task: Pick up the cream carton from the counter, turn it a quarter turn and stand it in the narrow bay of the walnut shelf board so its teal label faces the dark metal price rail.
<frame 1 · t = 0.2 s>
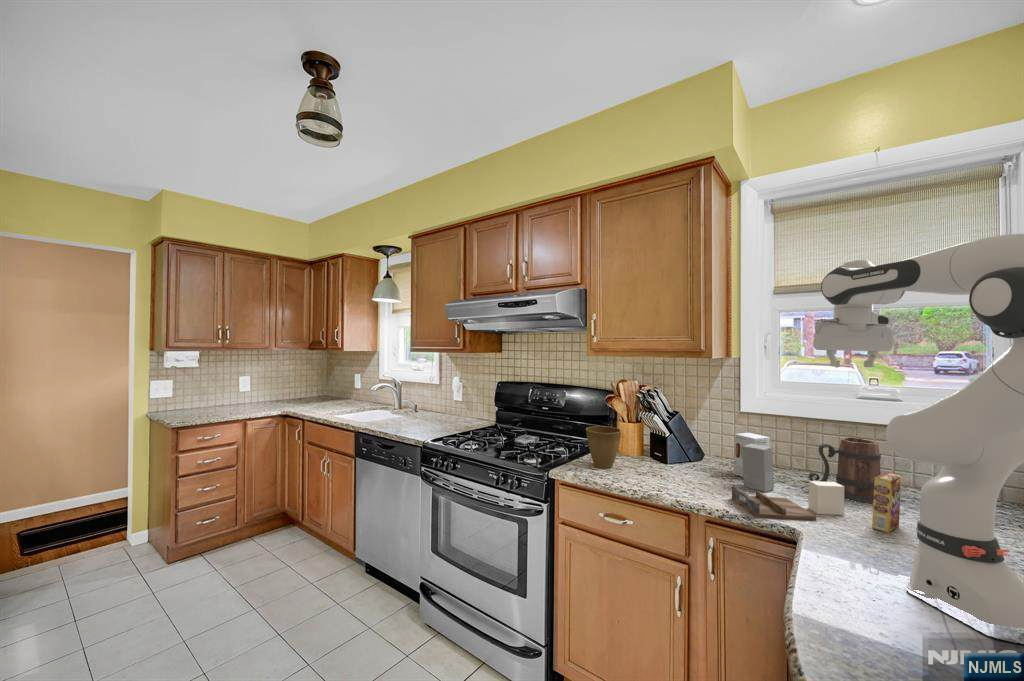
hand: (851, 366, 123), 47 cm above the countertop, tool pointing down, fingers open, 8 cm apart
cream carton: (825, 511, 138), on the countertop
plant pot: (602, 466, 184), on the countertop
supplement box: (751, 476, 174), on the countertop
tankard: (847, 495, 155), on the countertop
skincare box: (757, 488, 159), on the countertop
shelf board: (771, 509, 139), on the countertop
candy box: (886, 528, 126), on the countertop
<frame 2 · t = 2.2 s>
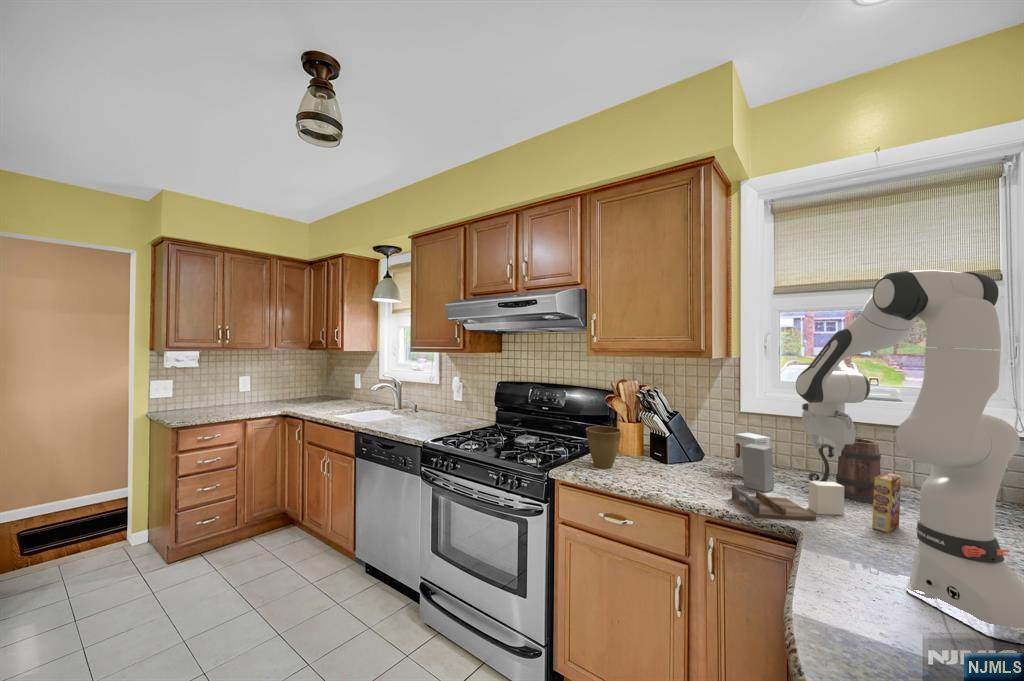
hand: (826, 451, 138), 19 cm above the countertop, tool pointing down, fingers open, 8 cm apart
nothing on the countertop moved.
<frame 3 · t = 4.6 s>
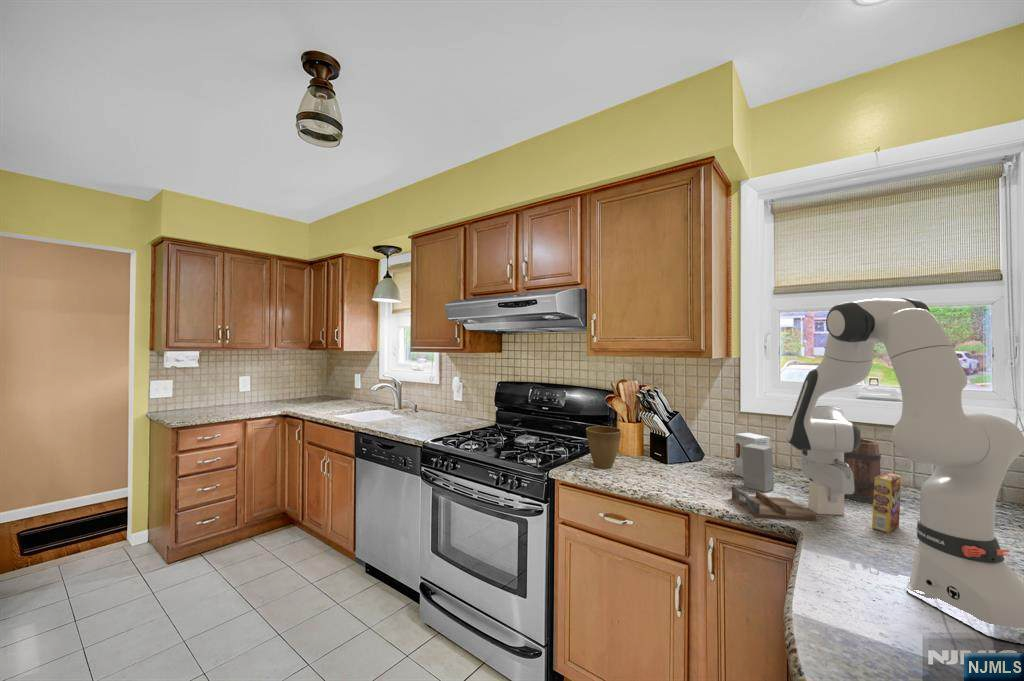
hand: (826, 498, 138), 4 cm above the countertop, tool pointing down, fingers closed on cream carton, 5 cm apart
cream carton: (826, 511, 138), on the countertop, touching gripper
everything else where it was.
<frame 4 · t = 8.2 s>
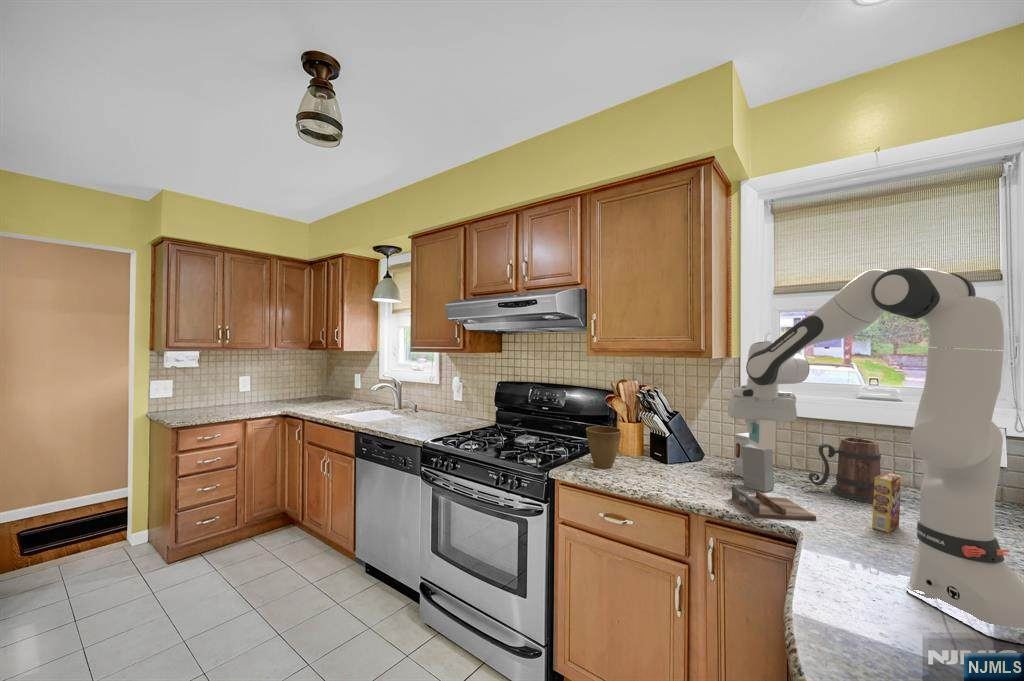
hand: (761, 433, 139), 24 cm above the countertop, tool pointing down, fingers closed on cream carton, 5 cm apart
cream carton: (761, 446, 139), point 20 cm above the countertop, touching gripper
everything else where it was.
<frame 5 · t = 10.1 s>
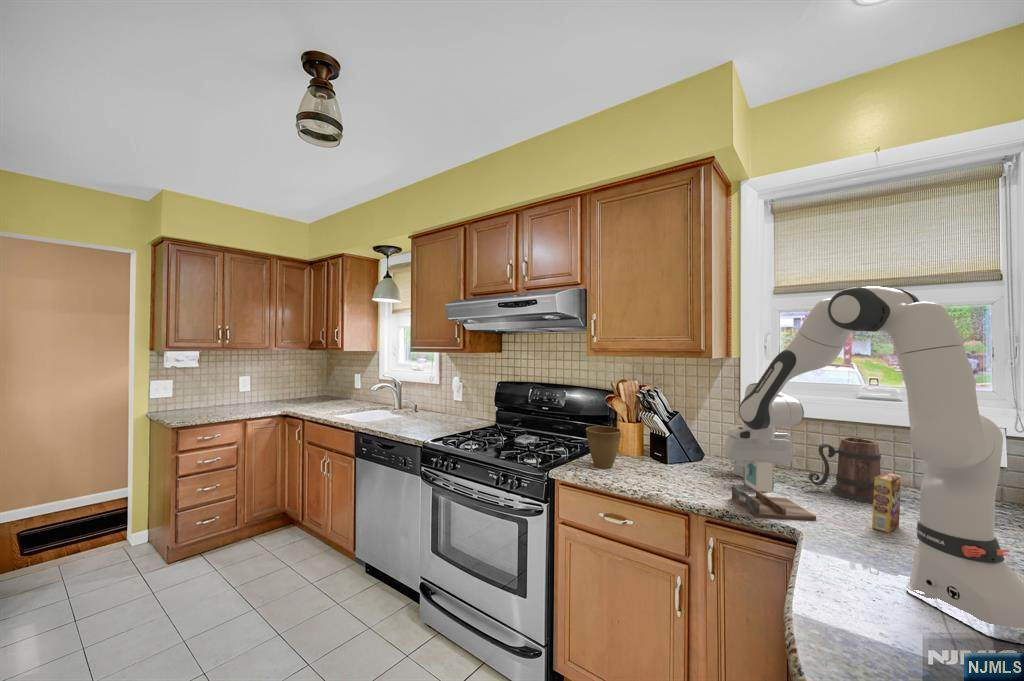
hand: (758, 474, 139), 11 cm above the countertop, tool pointing down, fingers closed on cream carton, 5 cm apart
cream carton: (758, 487, 139), point 7 cm above the countertop, touching gripper
everything else where it was.
when the fingers open (6 cm above the countertop, at t = 11.9 s): cream carton stays where it is, resting on shelf board.
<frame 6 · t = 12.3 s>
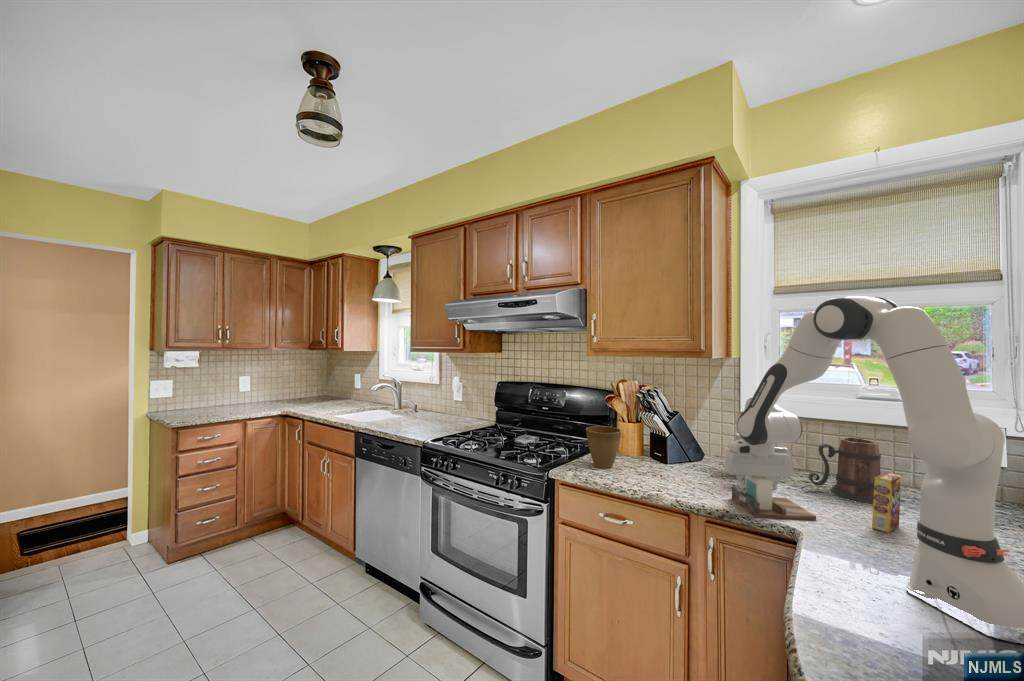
hand: (757, 489, 139), 6 cm above the countertop, tool pointing down, fingers open, 8 cm apart
cream carton: (758, 504, 139), point 1 cm above the countertop, touching shelf board
everything else where it was.
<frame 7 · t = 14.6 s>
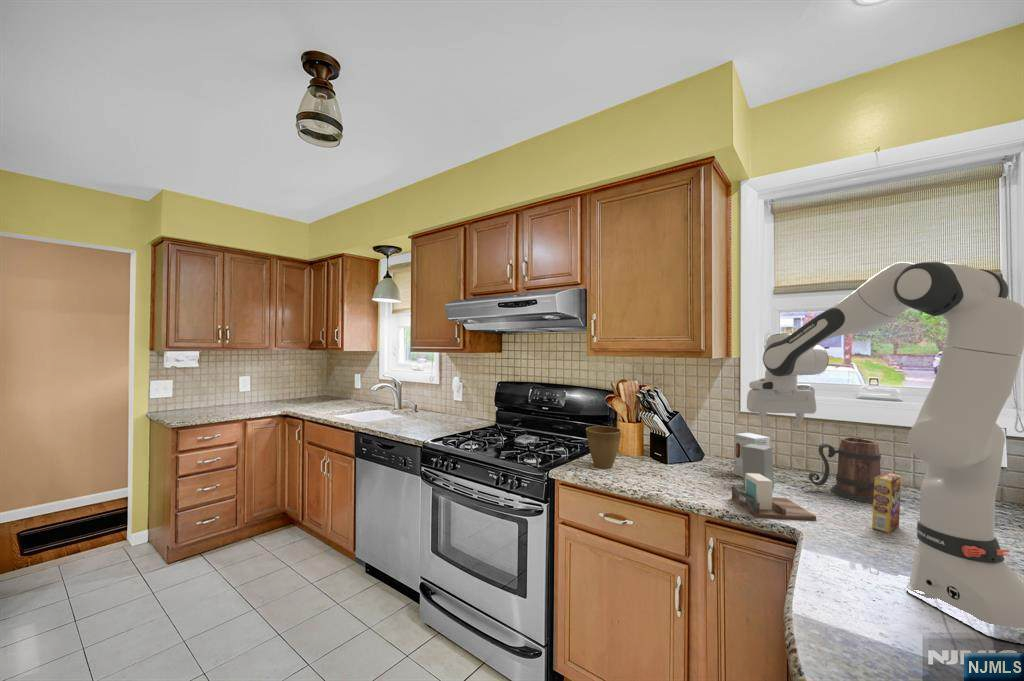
hand: (781, 427, 137), 27 cm above the countertop, tool pointing down, fingers open, 8 cm apart
nothing on the countertop moved.
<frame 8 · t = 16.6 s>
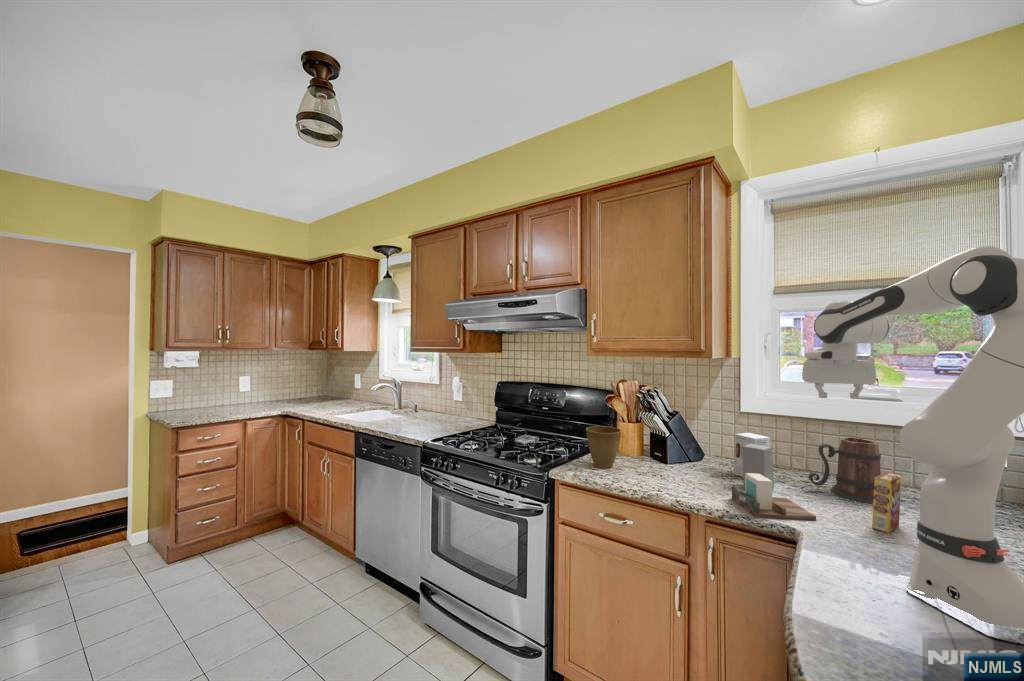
hand: (838, 398, 133), 37 cm above the countertop, tool pointing down, fingers open, 8 cm apart
nothing on the countertop moved.
at the end: cream carton 0.1 cm from the target spot, point 1.2 cm above the countertop; cream carton tilted 0°; the gripper is holding nothing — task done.
